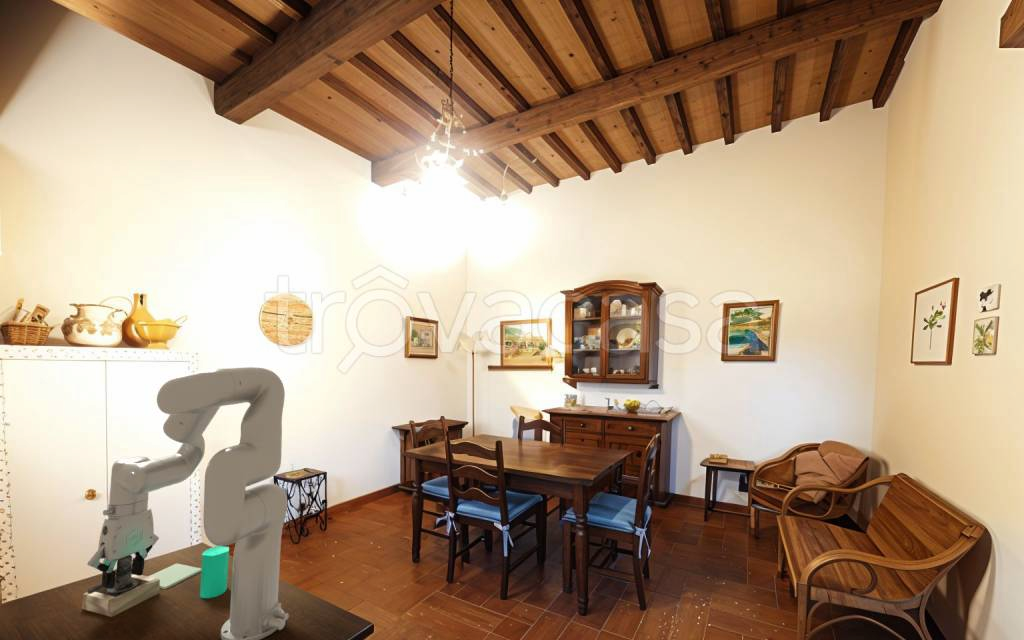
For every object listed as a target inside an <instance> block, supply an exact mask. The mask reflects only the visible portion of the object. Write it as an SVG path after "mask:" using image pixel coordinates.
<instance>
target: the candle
mask: <svg viewBox="0 0 1024 640" xmlns="http://www.w3.org/2000/svg"><path fill="white" fill-rule="evenodd" d="M229 554H230V547H229V546H217V545H215V546H212V547H210V548H209V549H206V550H205V551H204V552H202V554H201V555H202V556H201V572H200V573H201V574H200V584H199V585H200V590H199V597H200V598H202V599H211V598H215V597H218V596H220V595H221V596H222V595H223V594H225V592H226V591H227V589H228V588H227V587H228V575H229V574H228V573H229V559H230V558H229V557H230V555H229Z"/></svg>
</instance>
